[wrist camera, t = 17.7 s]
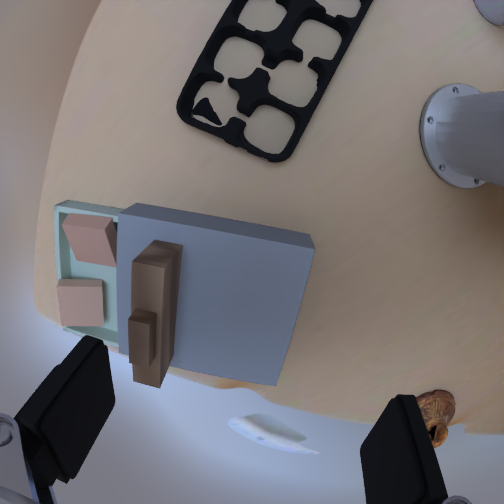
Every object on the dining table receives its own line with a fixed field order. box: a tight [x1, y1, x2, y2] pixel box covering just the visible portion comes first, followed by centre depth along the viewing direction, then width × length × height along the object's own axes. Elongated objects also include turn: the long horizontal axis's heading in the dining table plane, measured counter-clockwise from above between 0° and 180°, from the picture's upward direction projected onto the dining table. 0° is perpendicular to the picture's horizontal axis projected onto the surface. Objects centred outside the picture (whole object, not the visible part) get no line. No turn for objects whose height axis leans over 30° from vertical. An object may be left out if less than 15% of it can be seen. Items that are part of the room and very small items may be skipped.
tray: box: [54, 200, 125, 348], centre depth 38 cm, size 10×18×3 cm, turn 170°
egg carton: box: [176, 0, 373, 162], centre depth 27 cm, size 18×30×4 cm, turn 166°
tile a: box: [62, 213, 117, 267], centre depth 35 cm, size 6×6×2 cm
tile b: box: [57, 279, 104, 326], centre depth 38 cm, size 6×6×2 cm
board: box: [116, 203, 315, 386], centre depth 37 cm, size 20×18×5 cm
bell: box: [416, 390, 455, 448], centre depth 42 cm, size 12×12×7 cm
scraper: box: [128, 240, 183, 388], centre depth 30 cm, size 3×14×8 cm, turn 170°
